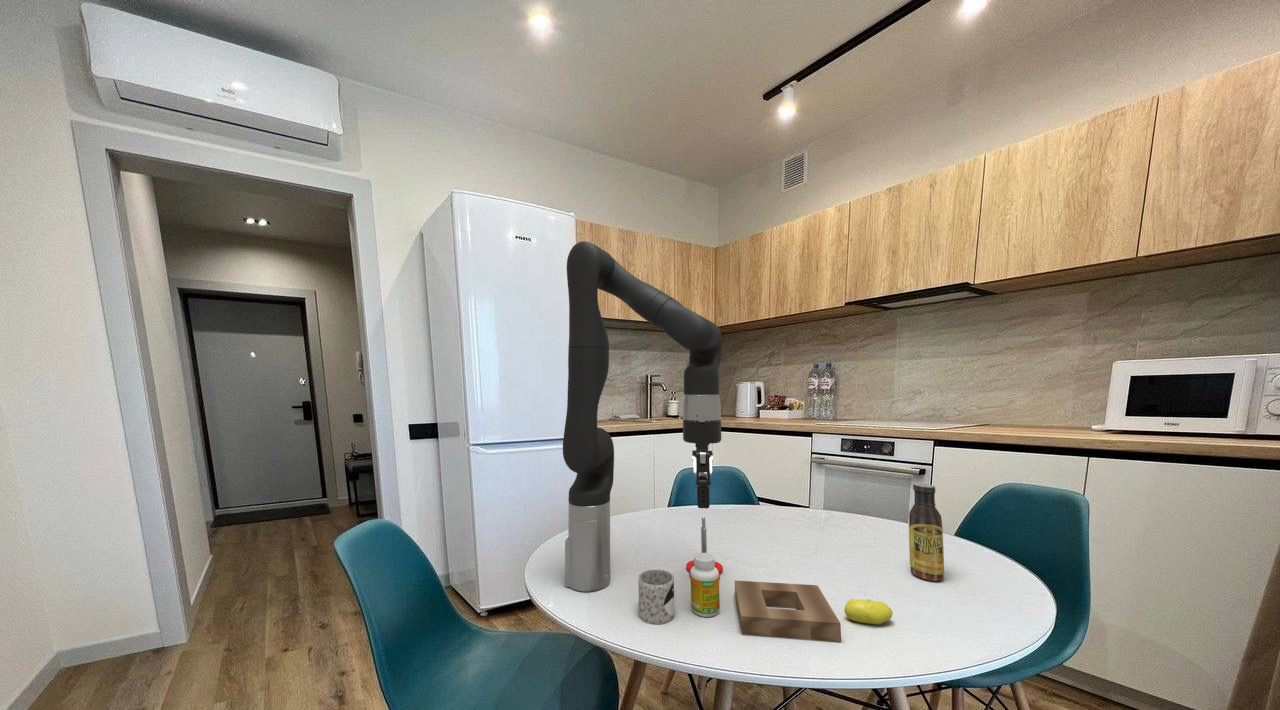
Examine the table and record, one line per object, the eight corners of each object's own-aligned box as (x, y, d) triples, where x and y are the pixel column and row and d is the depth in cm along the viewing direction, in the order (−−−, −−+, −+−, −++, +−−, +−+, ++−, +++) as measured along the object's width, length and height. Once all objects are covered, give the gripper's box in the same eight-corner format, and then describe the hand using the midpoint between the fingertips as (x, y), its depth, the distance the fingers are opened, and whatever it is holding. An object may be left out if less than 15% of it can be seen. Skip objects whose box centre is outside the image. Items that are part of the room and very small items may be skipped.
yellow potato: (841, 613, 74) (840, 591, 74) (888, 618, 72) (887, 595, 73) (848, 626, 70) (847, 603, 70) (898, 631, 68) (897, 607, 69)
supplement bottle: (702, 621, 72) (701, 564, 73) (685, 607, 76) (684, 554, 77) (725, 613, 74) (724, 558, 75) (708, 600, 79) (706, 549, 80)
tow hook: (686, 563, 97) (685, 578, 88) (686, 508, 99) (684, 517, 90) (721, 565, 96) (724, 581, 87) (720, 509, 98) (722, 519, 89)
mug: (673, 626, 70) (672, 587, 71) (636, 623, 71) (635, 584, 72) (676, 597, 80) (676, 563, 81) (644, 595, 81) (643, 561, 82)
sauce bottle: (914, 580, 86) (907, 486, 88) (907, 568, 92) (901, 480, 94) (951, 585, 84) (943, 488, 86) (941, 573, 89) (934, 482, 91)
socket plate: (741, 634, 68) (741, 616, 68) (734, 595, 80) (734, 580, 81) (841, 642, 65) (840, 623, 65) (818, 601, 78) (817, 585, 78)
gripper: (683, 415, 86) (684, 491, 85) (681, 420, 72) (682, 511, 71) (719, 415, 85) (720, 492, 84) (723, 420, 71) (725, 513, 70)
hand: (703, 501), depth 77 cm, fingers open, 8 cm apart
